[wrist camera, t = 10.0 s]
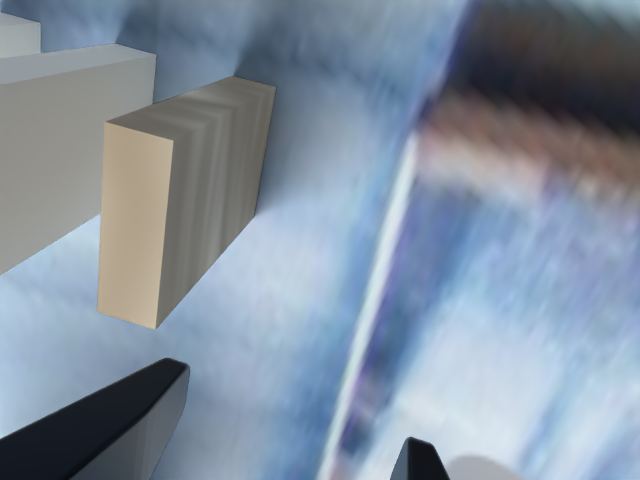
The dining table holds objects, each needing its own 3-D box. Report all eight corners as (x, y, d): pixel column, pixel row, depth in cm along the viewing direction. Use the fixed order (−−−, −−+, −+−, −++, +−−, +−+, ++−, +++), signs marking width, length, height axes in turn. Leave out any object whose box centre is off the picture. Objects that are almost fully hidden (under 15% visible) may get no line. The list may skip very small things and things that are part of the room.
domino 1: (156, 54, 19) (-14, 87, 12) (145, 185, 21) (-6, 278, 14) (114, 43, 19) (-78, 69, 12) (107, 174, 22) (-60, 260, 14)
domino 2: (276, 87, 19) (173, 140, 12) (253, 217, 21) (154, 329, 14) (232, 75, 19) (104, 122, 12) (214, 206, 21) (97, 312, 14)
